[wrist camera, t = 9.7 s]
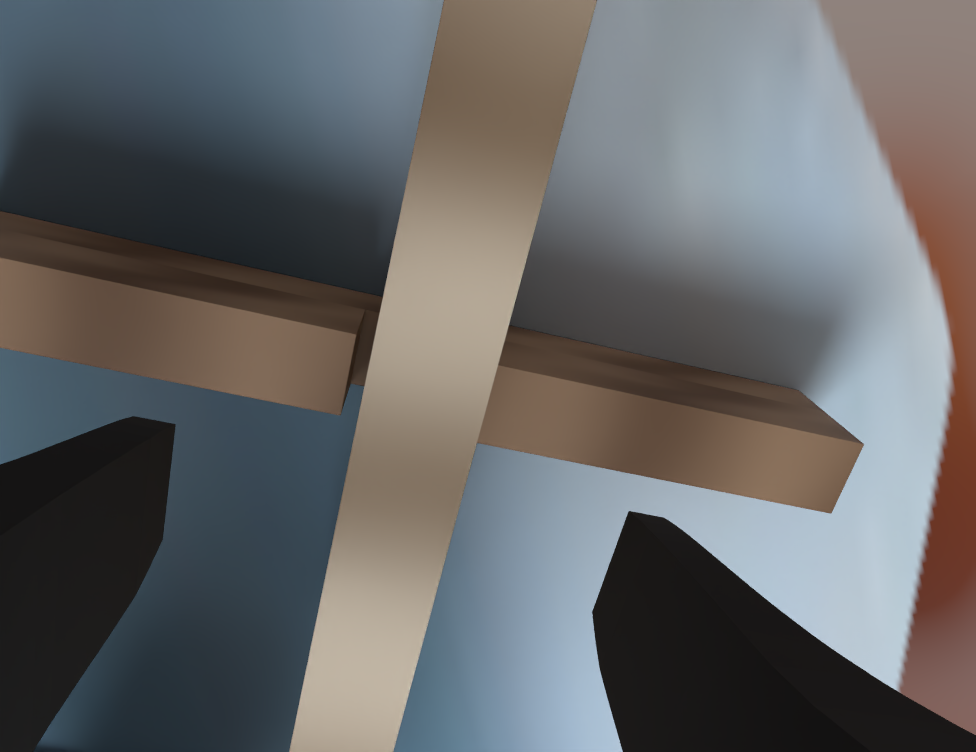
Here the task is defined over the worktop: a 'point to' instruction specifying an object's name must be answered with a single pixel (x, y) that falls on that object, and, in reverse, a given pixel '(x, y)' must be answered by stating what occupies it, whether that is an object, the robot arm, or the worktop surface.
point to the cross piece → (436, 352)
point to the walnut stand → (347, 351)
